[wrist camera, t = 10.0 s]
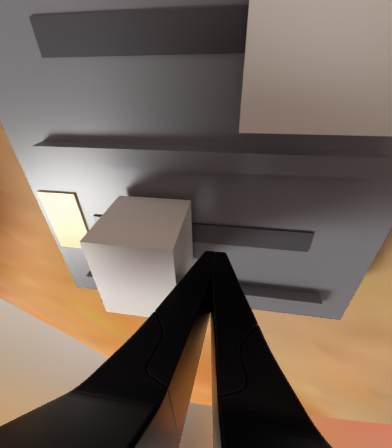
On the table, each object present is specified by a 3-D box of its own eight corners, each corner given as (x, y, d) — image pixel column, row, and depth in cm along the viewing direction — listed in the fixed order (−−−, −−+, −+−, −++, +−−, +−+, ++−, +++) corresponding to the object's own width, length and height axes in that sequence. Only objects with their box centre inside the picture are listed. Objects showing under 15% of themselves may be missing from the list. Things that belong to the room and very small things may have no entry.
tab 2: (409, -92, 5) (577, -237, 2) (347, 106, 7) (402, 137, 4) (255, -77, 5) (263, -186, 3) (240, 105, 7) (239, 132, 5)
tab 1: (190, 200, 10) (172, 250, 7) (193, 265, 12) (179, 321, 9) (119, 195, 10) (79, 241, 8) (134, 259, 12) (106, 311, 10)
